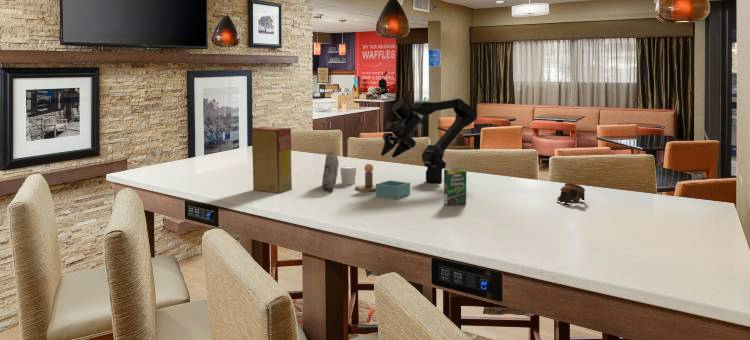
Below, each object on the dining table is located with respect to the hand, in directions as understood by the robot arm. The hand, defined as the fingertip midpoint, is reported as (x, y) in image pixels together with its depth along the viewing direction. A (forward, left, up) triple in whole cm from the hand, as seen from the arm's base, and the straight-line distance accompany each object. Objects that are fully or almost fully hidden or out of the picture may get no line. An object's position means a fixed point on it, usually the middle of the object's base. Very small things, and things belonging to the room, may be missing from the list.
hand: (387, 156), depth 235 cm
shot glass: (+17, -6, -13) cm, 23 cm away
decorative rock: (+22, +6, -13) cm, 27 cm away
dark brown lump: (-71, +16, -13) cm, 74 cm away
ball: (+6, +6, -6) cm, 11 cm away
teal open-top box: (-5, +14, -13) cm, 20 cm away
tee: (+6, +6, -13) cm, 16 cm away
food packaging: (+44, +13, -13) cm, 48 cm away
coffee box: (-29, +26, -13) cm, 41 cm away
